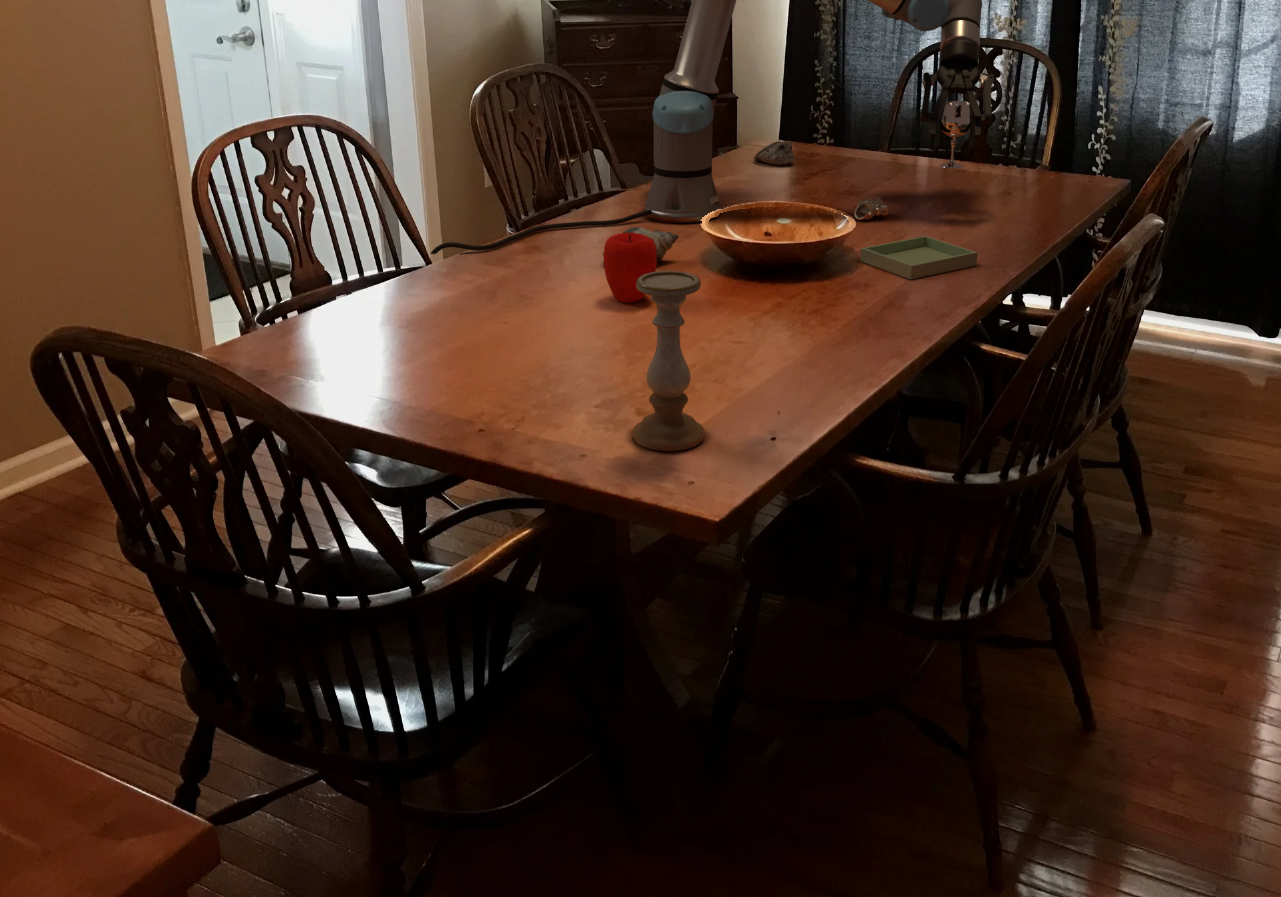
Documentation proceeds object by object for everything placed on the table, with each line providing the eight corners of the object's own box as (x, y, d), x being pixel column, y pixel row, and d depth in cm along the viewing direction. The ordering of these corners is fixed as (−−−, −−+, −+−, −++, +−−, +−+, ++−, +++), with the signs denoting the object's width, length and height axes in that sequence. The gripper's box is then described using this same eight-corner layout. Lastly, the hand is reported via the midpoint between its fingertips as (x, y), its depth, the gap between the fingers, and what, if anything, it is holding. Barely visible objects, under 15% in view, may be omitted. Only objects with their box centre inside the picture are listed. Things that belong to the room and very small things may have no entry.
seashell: (614, 264, 230) (677, 269, 226) (599, 258, 223) (663, 263, 219) (619, 229, 230) (681, 234, 226) (604, 222, 223) (668, 226, 219)
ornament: (879, 224, 248) (880, 205, 247) (847, 219, 251) (848, 201, 250) (895, 215, 254) (896, 197, 253) (863, 211, 258) (864, 193, 256)
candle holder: (690, 456, 152) (691, 293, 143) (622, 446, 155) (619, 286, 146) (713, 428, 159) (715, 272, 151) (648, 419, 162) (647, 265, 154)
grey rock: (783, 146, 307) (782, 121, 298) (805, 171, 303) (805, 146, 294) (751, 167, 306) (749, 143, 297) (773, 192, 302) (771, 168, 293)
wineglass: (964, 163, 248) (970, 100, 243) (968, 169, 243) (975, 105, 238) (934, 162, 249) (940, 100, 244) (937, 169, 244) (944, 105, 239)
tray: (910, 279, 215) (911, 265, 214) (860, 261, 225) (860, 248, 224) (976, 265, 222) (977, 252, 221) (924, 248, 232) (925, 235, 231)
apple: (667, 302, 205) (667, 236, 201) (620, 311, 202) (619, 244, 197) (640, 288, 212) (639, 224, 208) (594, 296, 209) (592, 232, 204)
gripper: (1006, 64, 251) (1002, 164, 243) (909, 61, 254) (902, 160, 246) (1011, 39, 244) (1007, 141, 236) (912, 37, 247) (904, 138, 239)
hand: (953, 151), depth 241 cm, fingers closed on wineglass, 6 cm apart
